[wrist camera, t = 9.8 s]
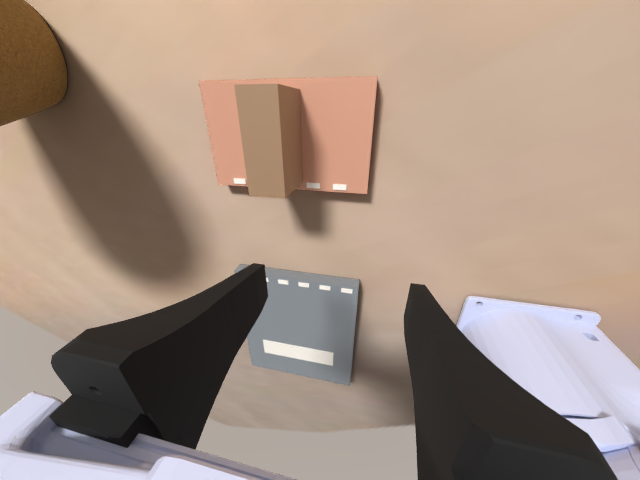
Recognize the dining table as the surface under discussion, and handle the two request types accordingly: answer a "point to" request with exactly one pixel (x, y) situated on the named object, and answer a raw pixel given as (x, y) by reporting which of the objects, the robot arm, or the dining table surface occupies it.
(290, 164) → the stub
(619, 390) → the robot arm
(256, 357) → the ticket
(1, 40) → the plant pot
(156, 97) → the dining table surface
